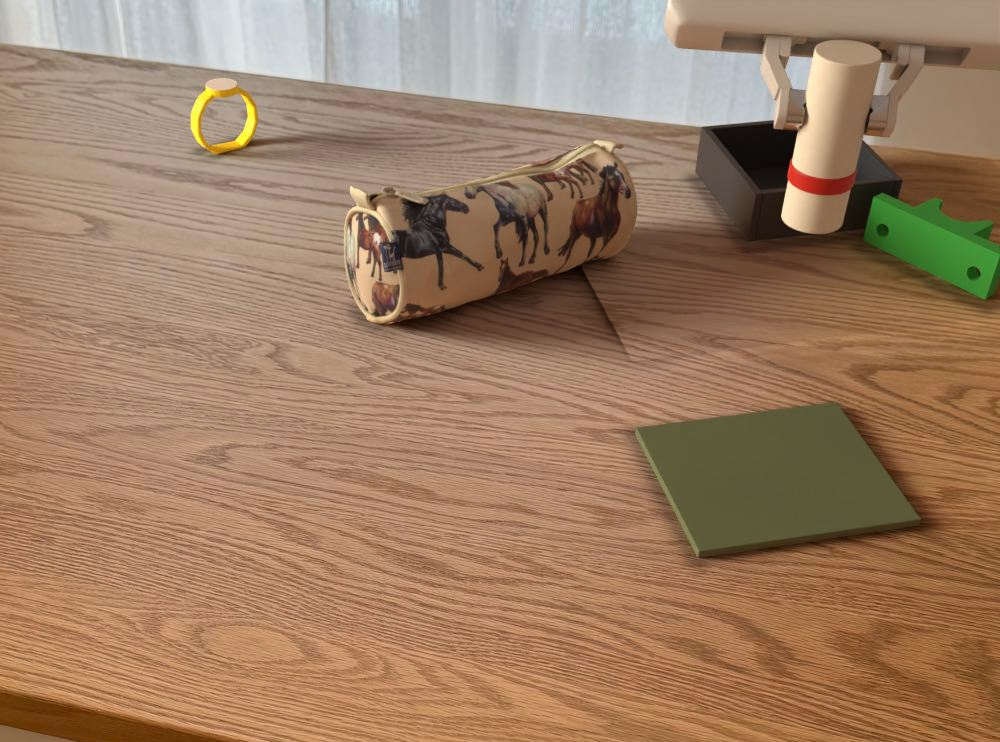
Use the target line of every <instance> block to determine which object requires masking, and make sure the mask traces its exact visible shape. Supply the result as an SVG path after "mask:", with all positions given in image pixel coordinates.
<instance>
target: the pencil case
mask: <svg viewBox="0 0 1000 742" xmlns="http://www.w3.org/2000/svg"><path fill="white" fill-rule="evenodd" d="M615 149H618V150H622V149H624V144H623V143H621V142H617V141H613V140H607V139H606V140H605V139H595V140H594V141H593V142H589V143H588V142H587V143H582V144H580V145H578V146H576V147H573V148H572V149H570V150H568V151H566V152H564V153H561V154H558V155H556V156H555V157H551V158H549V159H547V160H544V161H537V162H531V163H529V164H525V165H521V166H519V167H515V168H512V169H508V170H505V171H502V172H497V173H493V174H489V175H486V176H482V177H479V178H477V179H473V180H470V181H468V182H465V183H459V184H454V185H449V186H445V187H439V188H435V189H434V188H433V189H428V190H424V191H417V192H411V191H410V192H409V191H407V190H402V189H398V190H397V191H396V189H394V187H393V186H388V185H386V186H383V187H382V189H381V191H373V192H370V193H368V192H365V191H363V190H361V189H359V188H356V187H354V186H353V185H350V187H349V193H350V195H351V197H352V199H353V201H354V202H355V204H354V205H353V206H352V208H350V209H349V211H348V212H347V214H346V217H345V221H344V228H343V257H344V259H343V261H344V268H345V269H344V270H345V274H346V278H347V283H348V287H349V289H350V292H351V295H352V297H353V299H354V301H355V303H356V306H357V307H358V308H359V310H360V311H361V313H362V314H363V315H364V316H365V317H366V321H369V322H371V323H373V324H380V325H390V324H394V323H399V322H401V321H406V320H407V321H408V320H413V319H418V318H423V317H427V316H431V315H434V314H439V313H442V312H445V311H447V310H451V309H453V308H456V307H460V306H463V305H464V304H465V305H466V304H467V303H470V302H474V301H479V300H482V299H486V298H488V297H492V296H494V295H499V294H502V293H505V292H509V291H512V290H514V289H517V288H519V287H522V286H525V285H528V284H531V283H533V282H535V281H537V280H540V279H543V278H546V277H550V276H552V275H557V274H560V273H564V272H567V271H569V270H571V269H574V268H576V267H577V266H580V265H583V264H585V263H587V262H593V261H600V260H606V259H609V258H612V257H614V256H617V255H618V254H620V252H622V251H623V249H625V247H626V246H627V244H628V242H629V240H630V238H631V236H632V234H633V231H634V228H635V225H636V222H637V215H638V198H637V193H636V188H635V185H634V182H633V178H632V176H631V174H630V171H629V169H628V167H627V166H626V164H625V163H624V161H623V160H622V158H620V157H619V156H618V155H617V154H615V153H614V151H615Z"/></svg>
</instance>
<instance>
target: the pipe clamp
mask: <svg viewBox="0 0 1000 742" xmlns="http://www.w3.org/2000/svg"><path fill="white" fill-rule="evenodd" d="M943 204H944V200H943V199H940V198H938V197H933V198H931V199H928V200H927V201H925V202H923V203H920V204H918V205H916V206H913V205H910V204H908V203H906V202H904V201H902V200H900V199H898V200H897V199H895V198H893V197H891V196H888V195H886V194H884V193H881V194H879V195H877V196H875V197H873V201H872V205H871V209H870V213H869V217H868V221H867V225H866V229H864V233H863V237H862V241H863V242H865V243H866V244H869V245H870V246H873V247H874V248H875V247H876V248H877V249H879V250H881V251H883V252H885V253H887V254H890V255H891V256H894V257H895V258H897V259H900V260H901V261H903V262H906V263H908V264H910V265H912V266H914V267H917V268H919V269H921V270H923V271H925V272H927V273H928V274H931V275H933V276H935V277H937V278H940V279H941V280H943V281H945V282H947V283H949V284H952V285H954V286H956V287H958V288H960V289H962V290H963V291H966V292H968V293H970V294H972V295H975V296H976V297H978V298H980V299H983V300H985V301H986V300H988V299H989V298H991V297H993V296H995V293H996V290H997V288H998V284H999V281H1000V245H999V244H997V243H995V242H993V241H991V240H990V237H991V235H992V231H993V228H994V225H995V222H992V221H990V220H989V219H983V220H979V221H964V220H958V219H955V218H952V217H950V216H948V215H946V214H945V213H943V212H942V211H941V210H942V207H943ZM885 225H886V226H887V227H885ZM887 229H888V230H887ZM977 270H979V273H980V274H979V273H978V272H977Z"/></svg>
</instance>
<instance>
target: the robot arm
mask: <svg viewBox="0 0 1000 742" xmlns="http://www.w3.org/2000/svg"><path fill="white" fill-rule="evenodd" d="M663 24H664V26H663V31H664V33H665V35H666V37H667V38H668V39H669V41H670V42H671V45H673V47H675V48H677V49H681V50H698V51H709V52H724V53H736V54H737V53H738V54H753V55H754V54H755V55H761V59H760V69H759V72H760V74H761V76H762V78H763V79H764V80H763V81H764V83H765V84H766V87H767V89H768V90H769V92H770V94H771V97H772V99H773V101H775V110H774V119H773V120H774V129H783V130H798V131H799V130H800V129H801V126H802V124H803V120H804V114H805V109H804V105H805V103H806V91H807V90H806V89H800V88H799V89H797V88H793V86H792V83H791V81H790V78H789V76H788V74H787V71H786V68H787V65H788V63H789V59H790V57H794V58H795V57H796V58H797V57H798V58H808V59H809V58H810V59H813V54H814V49H815V47H816V46H817V45H818V44H820V43H822V42H825V41H830V40H853V41H858V42H863V43H866V44H869V45H871V46H873V47H875V48H877V49H878V50H879V51H880V52H881V53H882V61H881V64H882V63H885V64H889V65H890V67H889V77H888V78H889V80H890V81H896V82H895V84H894V85H893V86H892V87H891V89H890V91H889V92H888V93H887V95H883V94H882V95H879V94H873V98H872V102H871V106H870V111H869V115H868V119H867V124H866V128H865V131H864V136H868V137H877V138H878V137H880V138H890V137H891V136H892V134H893V133H894V131H895V128H896V123H897V118H898V109H899V103H900V101H901V100H902V99H903V97H904V96H905V95H906V93H907V92H908V91H909V90H910V88H911V87H912V86H913V84H914V82H915V81H916V79H917V78H918V76H919V75H920V73H921V72H922V69H923V68H924V66H925V67H927V66H928V67H941V68H953V69H954V68H955V69H968V70H970V69H971V70H983V71H997V72H1000V0H667V1H666V8H665V14H664V22H663Z"/></svg>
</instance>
